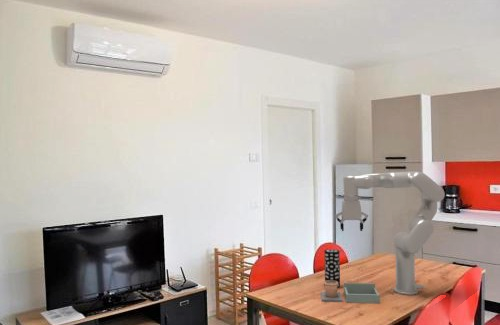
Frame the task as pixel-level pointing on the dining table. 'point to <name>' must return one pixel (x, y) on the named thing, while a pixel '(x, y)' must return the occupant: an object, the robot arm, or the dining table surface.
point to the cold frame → (361, 293)
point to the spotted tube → (332, 265)
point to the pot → (331, 288)
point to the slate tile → (328, 299)
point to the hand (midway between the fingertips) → (351, 230)
